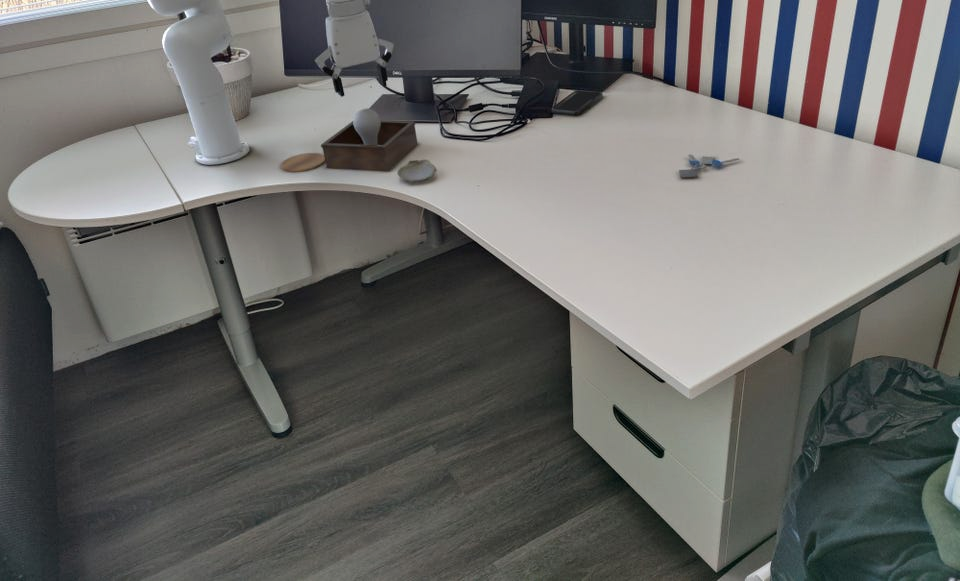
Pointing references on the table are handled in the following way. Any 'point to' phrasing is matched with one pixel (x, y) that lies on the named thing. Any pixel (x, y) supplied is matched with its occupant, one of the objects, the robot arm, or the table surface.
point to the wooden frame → (370, 147)
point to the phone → (577, 103)
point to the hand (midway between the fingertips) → (362, 89)
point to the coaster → (303, 162)
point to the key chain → (705, 160)
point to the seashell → (417, 170)
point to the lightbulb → (367, 125)
